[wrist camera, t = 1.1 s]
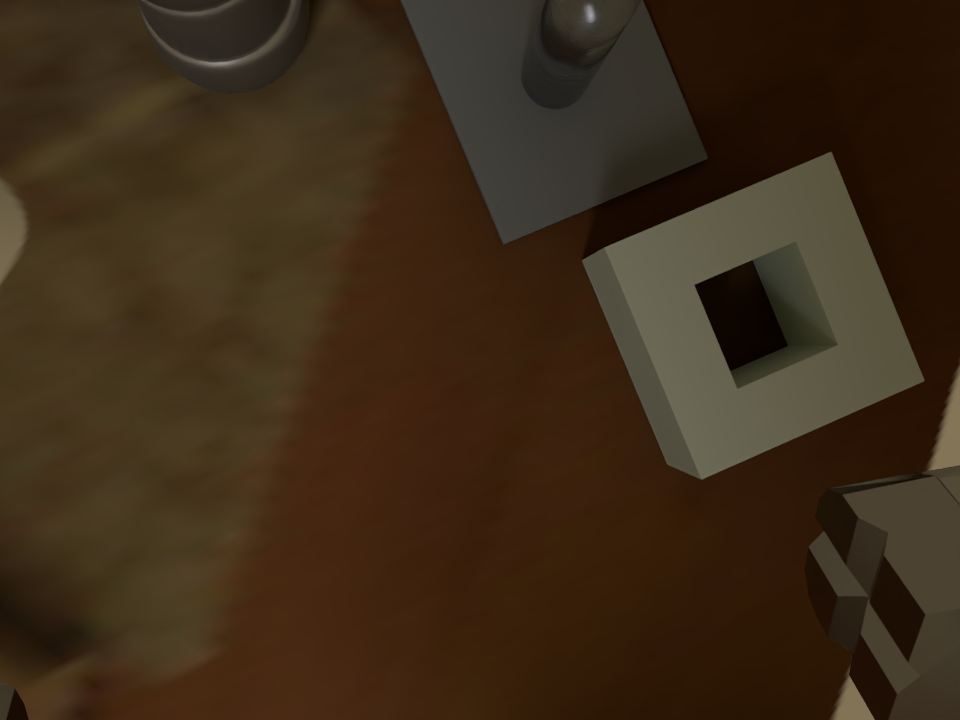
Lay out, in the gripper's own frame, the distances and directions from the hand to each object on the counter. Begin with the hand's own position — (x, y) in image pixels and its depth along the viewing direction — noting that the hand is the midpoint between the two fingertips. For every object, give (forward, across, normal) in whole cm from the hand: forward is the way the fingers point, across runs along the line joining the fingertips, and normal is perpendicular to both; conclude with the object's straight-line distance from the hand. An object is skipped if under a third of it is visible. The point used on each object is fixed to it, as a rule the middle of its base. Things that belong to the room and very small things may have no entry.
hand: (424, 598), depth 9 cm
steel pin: (+33, +9, -7) cm, 35 cm away
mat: (+34, +9, -7) cm, 35 cm away
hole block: (+26, +15, -17) cm, 35 cm away
